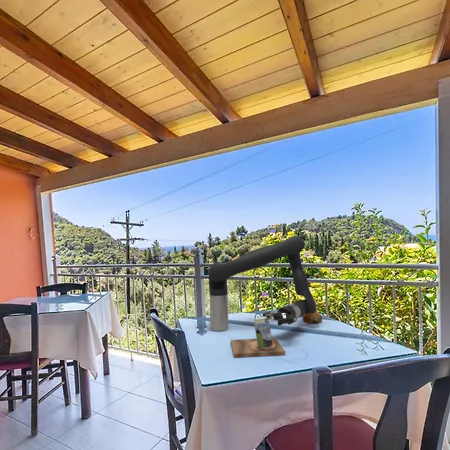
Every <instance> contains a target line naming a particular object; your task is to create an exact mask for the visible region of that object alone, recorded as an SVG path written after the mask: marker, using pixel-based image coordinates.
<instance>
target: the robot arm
mask: <svg viewBox="0 0 450 450" xmlns="http://www.w3.org/2000/svg"><path fill="white" fill-rule="evenodd" d="M304 249H305V240H304V239H302V237H300V236H297V235H296V236H295V235H293V236H290V237H288V238H287V239H285V240H283V241H282V240H281V241H280V242H277V243H275V244H270V245H266V246H263V247H258V248H256V249H253V250H251V251H248V252H246V253H243V254H242V255H240V256H238V257H236V258H235V259H231V260H229V261H224V262H219V261H217V262H214V263H211V265H210V266H209V268H208V289H209V290H208V291H209V322H210V323H209V324H210V325H209V326H210V331H211V332H212V331H214V332H224V331H226V330H228V329H230V327H229V300H228V299H229V298H228V297H229V296H228V295H229V292H228V284H227V280H228V279H229V278H231V277H234V276H236V275H238V274H242V273H246V272H249V271H251V270H252V271H253V270H255V269H258V268H261V267H264V266H267V265H269V264H272V263H273V262H275V261H277V260H278V259H281V258H284V257H287V259H288V263H289V267H290V270H291V274H292V279H293V285H294V289H295V295H297V296H303V298H304V299H298V300H295V302H294V303H290V304H287V305H284V306H282V307H279V308H278V310H277V311H275V312H272V311H271V310H269V311H266V312H263V313H262V316H261V317H267V319H268V320H269V321H271V322H277V326H282V325H287V324H288V325H292V324H294V323H296V322H297V319H299V318H301V317H302V318H303V315H304V314H311V313H315V312H316V311H317V305H318V304H317V303H316V301H315V298H314V297H313V294H312V292H311V289H310V286H309V280H308V277H307V274H306V272H305V269H304V267H303V265H302V264H303V263H302V260H301V252H302V251H303V250H304Z"/></svg>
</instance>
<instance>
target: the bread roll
mask: <svg viewBox="0 0 450 450" xmlns="http://www.w3.org/2000/svg"><path fill="white" fill-rule="evenodd" d="M302 321H303V323H305V324H309V325H319V324H320V323H322V321H323V318H322V314H321V313H320V312H319V311H318V310H316V312H315V313H311V314H304V315H303V316H302Z"/></svg>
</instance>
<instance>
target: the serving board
mask: <svg viewBox="0 0 450 450" xmlns="http://www.w3.org/2000/svg"><path fill="white" fill-rule="evenodd" d="M272 342H273V345H272V346H271V347H270V348H267V349H261V348H260V347H258V344H257V338H243V339H230V345H231V351H232V356H233V358H234V359H236V358H257V357H275V356H278V357H279V356H286V350H285V348H284V347H283V346H282V345H281V343H280V342H279V340H278V338H277V337H272Z"/></svg>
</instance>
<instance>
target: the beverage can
mask: <svg viewBox="0 0 450 450" xmlns="http://www.w3.org/2000/svg"><path fill="white" fill-rule="evenodd" d="M253 324H254V331H255V337H256V338H255V339H257V344H258V347H260V348H261V349H267V348H270V347H271V346H272V345H273V342H272V338H273V337H272V331H271V325H270V320H268V319H267V317H262V316H258V317H255V318H254V321H253Z"/></svg>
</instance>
